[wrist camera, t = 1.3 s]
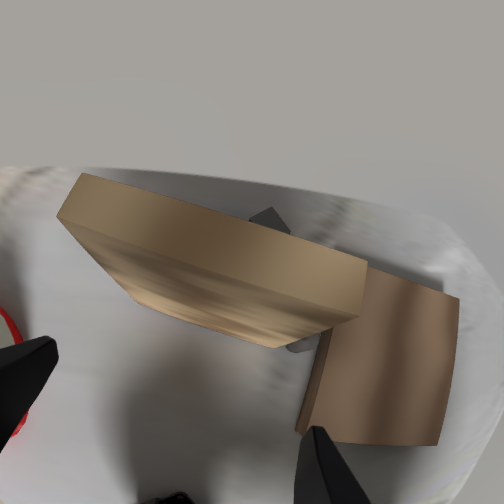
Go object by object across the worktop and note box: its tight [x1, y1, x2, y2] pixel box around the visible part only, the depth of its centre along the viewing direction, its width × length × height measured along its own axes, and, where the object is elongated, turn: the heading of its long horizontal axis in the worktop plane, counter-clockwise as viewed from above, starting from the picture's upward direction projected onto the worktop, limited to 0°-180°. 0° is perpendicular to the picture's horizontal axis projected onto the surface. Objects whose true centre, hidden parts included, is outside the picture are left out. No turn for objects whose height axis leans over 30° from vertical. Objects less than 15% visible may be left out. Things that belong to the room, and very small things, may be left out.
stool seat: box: [295, 266, 459, 446], centre depth 21 cm, size 13×14×2 cm
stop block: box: [249, 207, 291, 234], centre depth 23 cm, size 2×2×4 cm
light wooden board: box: [56, 173, 368, 353], centre depth 16 cm, size 13×2×14 cm, turn 74°
